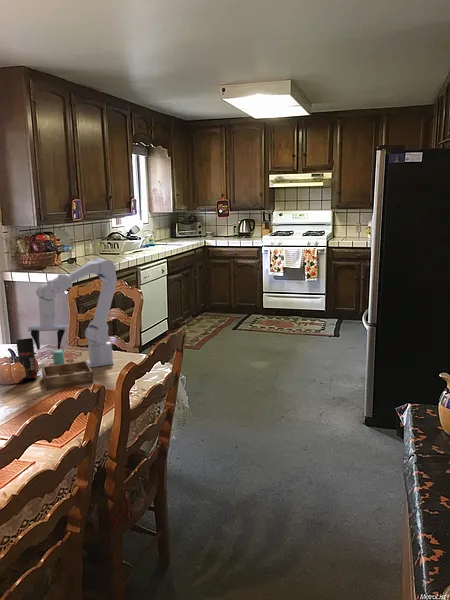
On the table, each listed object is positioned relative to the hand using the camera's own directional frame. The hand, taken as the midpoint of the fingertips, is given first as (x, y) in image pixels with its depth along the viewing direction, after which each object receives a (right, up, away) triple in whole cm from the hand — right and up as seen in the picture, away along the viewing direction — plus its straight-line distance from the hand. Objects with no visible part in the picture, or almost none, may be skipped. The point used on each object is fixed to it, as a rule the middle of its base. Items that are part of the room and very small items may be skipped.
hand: (48, 348), depth 205 cm
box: (+9, -12, -4) cm, 15 cm away
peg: (+2, -10, +7) cm, 12 cm away
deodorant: (-7, -11, -3) cm, 13 cm away
